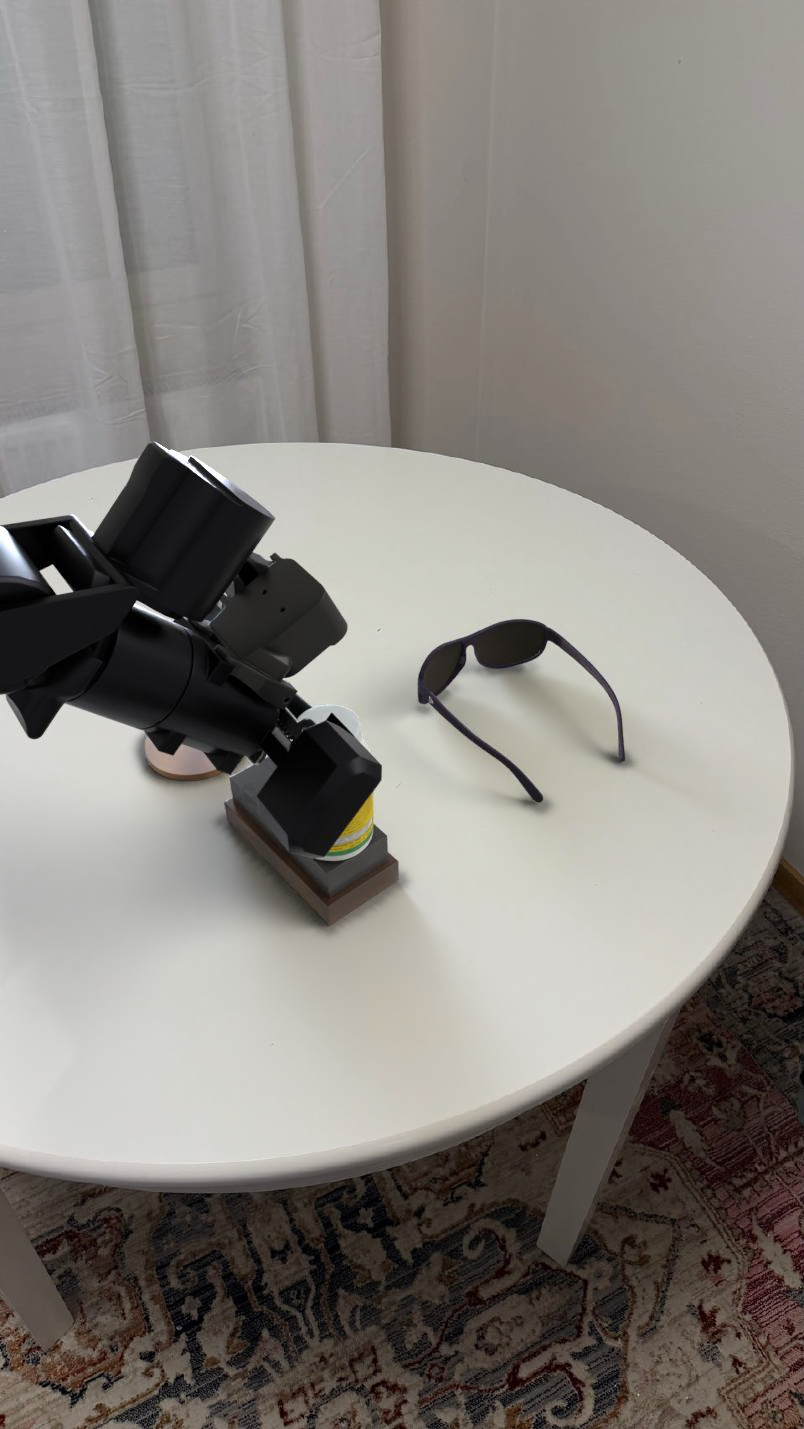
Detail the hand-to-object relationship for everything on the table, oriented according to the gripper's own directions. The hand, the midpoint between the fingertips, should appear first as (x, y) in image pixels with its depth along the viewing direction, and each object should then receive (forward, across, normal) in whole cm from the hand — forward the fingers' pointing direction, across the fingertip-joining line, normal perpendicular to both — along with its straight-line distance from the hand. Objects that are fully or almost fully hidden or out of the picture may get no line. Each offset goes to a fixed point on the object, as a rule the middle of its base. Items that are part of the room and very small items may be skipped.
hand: (348, 753), depth 63 cm
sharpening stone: (+7, +4, +9) cm, 12 cm away
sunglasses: (+22, +5, -6) cm, 23 cm away
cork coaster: (+5, +18, +10) cm, 22 cm away
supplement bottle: (+4, 0, +6) cm, 7 cm away
